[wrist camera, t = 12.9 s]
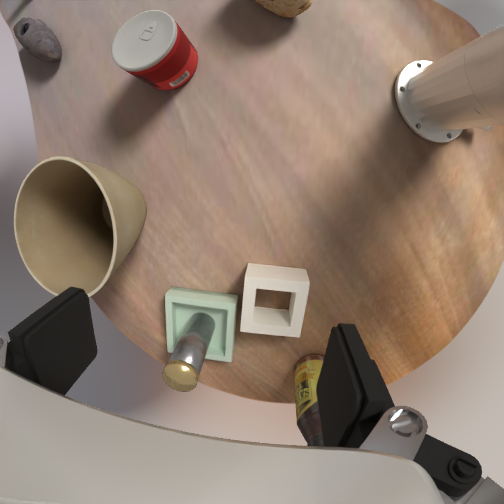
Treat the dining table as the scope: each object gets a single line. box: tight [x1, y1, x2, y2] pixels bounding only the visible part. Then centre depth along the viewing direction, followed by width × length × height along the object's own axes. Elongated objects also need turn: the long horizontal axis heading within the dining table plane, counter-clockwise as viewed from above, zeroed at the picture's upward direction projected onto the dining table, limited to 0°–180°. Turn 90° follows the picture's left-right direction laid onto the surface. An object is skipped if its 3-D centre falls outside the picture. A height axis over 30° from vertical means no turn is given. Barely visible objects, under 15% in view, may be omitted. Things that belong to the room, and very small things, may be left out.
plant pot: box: [14, 157, 147, 297], centre depth 32 cm, size 15×15×16 cm
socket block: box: [240, 263, 310, 337], centre depth 40 cm, size 8×8×5 cm
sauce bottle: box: [294, 354, 324, 447], centre depth 36 cm, size 7×6×20 cm
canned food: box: [111, 10, 198, 90], centre depth 29 cm, size 8×8×11 cm
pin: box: [162, 312, 215, 392], centre depth 37 cm, size 4×4×13 cm
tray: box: [165, 287, 238, 362], centre depth 43 cm, size 10×10×3 cm
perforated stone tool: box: [13, 18, 62, 61], centre depth 29 cm, size 15×5×7 cm, turn 41°
